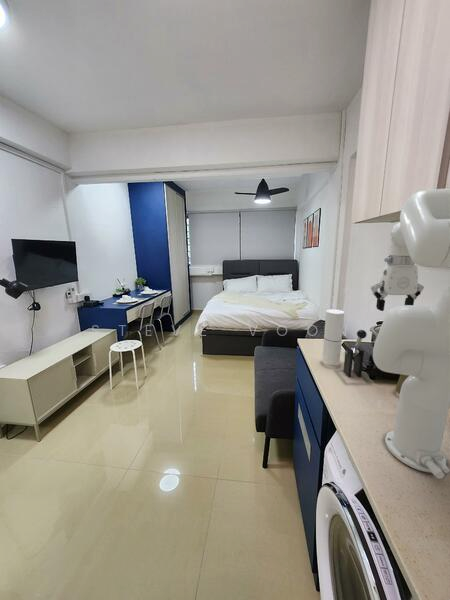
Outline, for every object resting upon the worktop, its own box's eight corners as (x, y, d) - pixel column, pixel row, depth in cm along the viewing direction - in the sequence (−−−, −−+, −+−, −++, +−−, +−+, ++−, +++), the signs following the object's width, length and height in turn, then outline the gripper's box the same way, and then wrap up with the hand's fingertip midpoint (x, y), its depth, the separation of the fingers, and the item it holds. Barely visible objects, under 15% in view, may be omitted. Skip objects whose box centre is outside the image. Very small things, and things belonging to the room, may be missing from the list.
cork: (419, 400, 83) (424, 372, 81) (401, 400, 84) (406, 372, 81) (407, 390, 89) (411, 363, 87) (390, 390, 89) (394, 363, 87)
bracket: (369, 384, 93) (373, 353, 91) (346, 384, 94) (349, 354, 91) (356, 370, 103) (359, 343, 100) (335, 371, 104) (337, 343, 101)
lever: (369, 333, 88) (365, 328, 91) (360, 333, 88) (356, 328, 91) (359, 358, 95) (355, 351, 98) (350, 358, 96) (347, 352, 98)
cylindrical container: (323, 367, 106) (327, 313, 101) (320, 360, 113) (324, 308, 107) (340, 369, 105) (346, 314, 99) (337, 361, 112) (342, 309, 106)
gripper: (381, 262, 78) (375, 313, 82) (436, 261, 77) (427, 312, 81) (368, 260, 85) (363, 307, 89) (418, 259, 85) (411, 306, 89)
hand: (393, 309), depth 85 cm, fingers open, 9 cm apart
